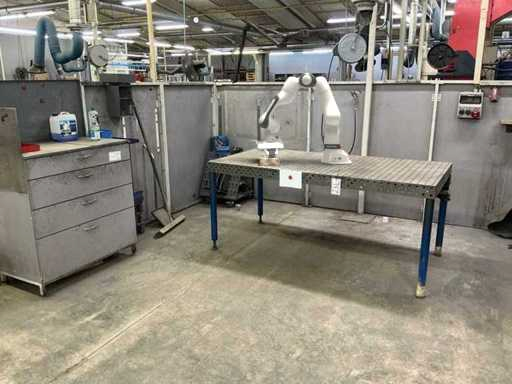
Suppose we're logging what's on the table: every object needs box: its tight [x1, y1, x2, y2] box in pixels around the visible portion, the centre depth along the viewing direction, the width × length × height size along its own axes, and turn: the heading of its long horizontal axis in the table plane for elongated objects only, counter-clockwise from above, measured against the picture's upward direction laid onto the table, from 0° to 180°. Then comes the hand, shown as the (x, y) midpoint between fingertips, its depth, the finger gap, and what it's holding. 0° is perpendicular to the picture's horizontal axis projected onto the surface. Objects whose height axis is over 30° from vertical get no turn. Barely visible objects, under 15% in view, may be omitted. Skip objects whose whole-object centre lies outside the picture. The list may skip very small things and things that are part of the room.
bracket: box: [267, 149, 277, 158], centre depth 290 cm, size 5×8×9 cm, turn 13°
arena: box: [259, 155, 281, 167], centre depth 289 cm, size 14×14×5 cm
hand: (272, 154), depth 291 cm, fingers open, 5 cm apart
